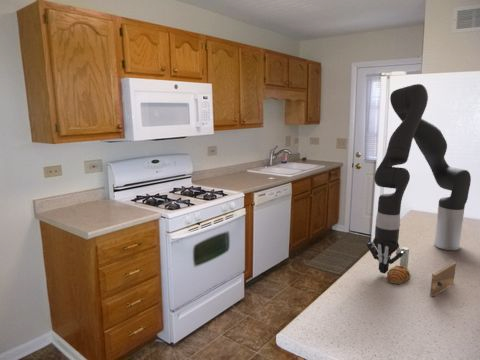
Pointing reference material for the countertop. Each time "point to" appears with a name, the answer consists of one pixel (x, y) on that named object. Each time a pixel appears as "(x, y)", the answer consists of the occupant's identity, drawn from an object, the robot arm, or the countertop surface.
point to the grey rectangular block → (405, 257)
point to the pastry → (398, 275)
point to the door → (442, 279)
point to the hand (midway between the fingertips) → (383, 272)
